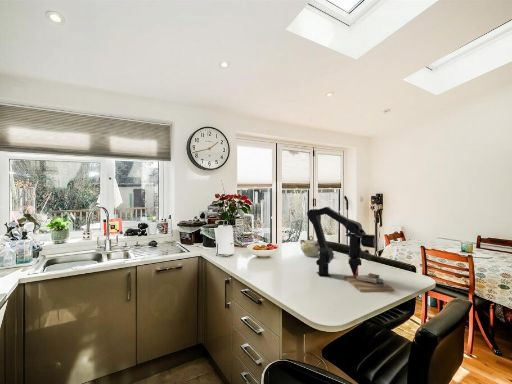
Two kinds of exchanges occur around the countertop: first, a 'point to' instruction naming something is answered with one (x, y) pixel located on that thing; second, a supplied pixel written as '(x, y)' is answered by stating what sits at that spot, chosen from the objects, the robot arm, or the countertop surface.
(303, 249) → the sugar bowl
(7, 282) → the countertop surface
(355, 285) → the cracker base
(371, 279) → the lever
